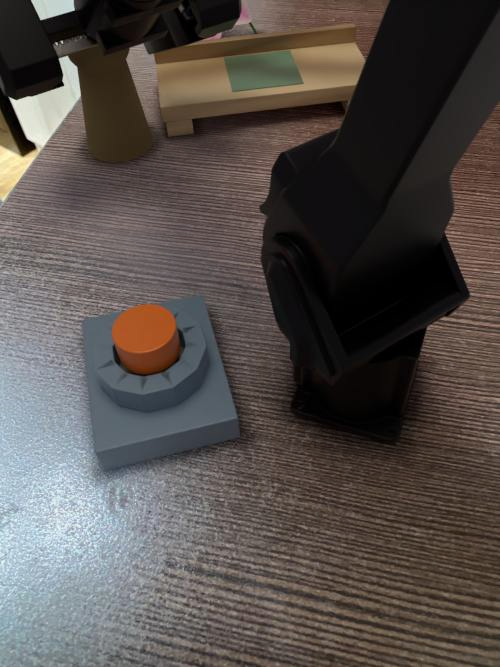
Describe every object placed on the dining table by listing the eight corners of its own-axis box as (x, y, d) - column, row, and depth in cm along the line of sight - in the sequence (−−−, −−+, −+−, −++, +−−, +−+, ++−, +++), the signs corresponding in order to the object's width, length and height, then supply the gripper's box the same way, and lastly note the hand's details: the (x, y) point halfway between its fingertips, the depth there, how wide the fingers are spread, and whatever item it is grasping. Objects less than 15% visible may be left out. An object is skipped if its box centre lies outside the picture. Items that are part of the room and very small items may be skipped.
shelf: (374, 112, 57) (380, 65, 54) (165, 137, 56) (157, 91, 52) (350, 67, 63) (354, 23, 59) (160, 89, 62) (152, 45, 58)
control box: (240, 438, 35) (236, 399, 32) (103, 472, 34) (86, 436, 31) (205, 315, 41) (199, 273, 38) (89, 340, 40) (73, 300, 37)
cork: (141, 165, 53) (114, 38, 45) (77, 159, 54) (39, 35, 46) (161, 128, 57) (140, 4, 48) (101, 123, 58) (70, 2, 49)
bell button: (186, 367, 34) (181, 344, 32) (122, 381, 34) (115, 359, 32) (175, 321, 36) (170, 298, 35) (115, 334, 36) (108, 311, 34)
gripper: (208, -209, 38) (154, -58, 52) (-95, -156, 32) (-60, -1, 46) (280, -34, 40) (209, 66, 54) (6, 49, 33) (9, 136, 48)
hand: (98, 64), depth 51 cm, fingers open, 9 cm apart
